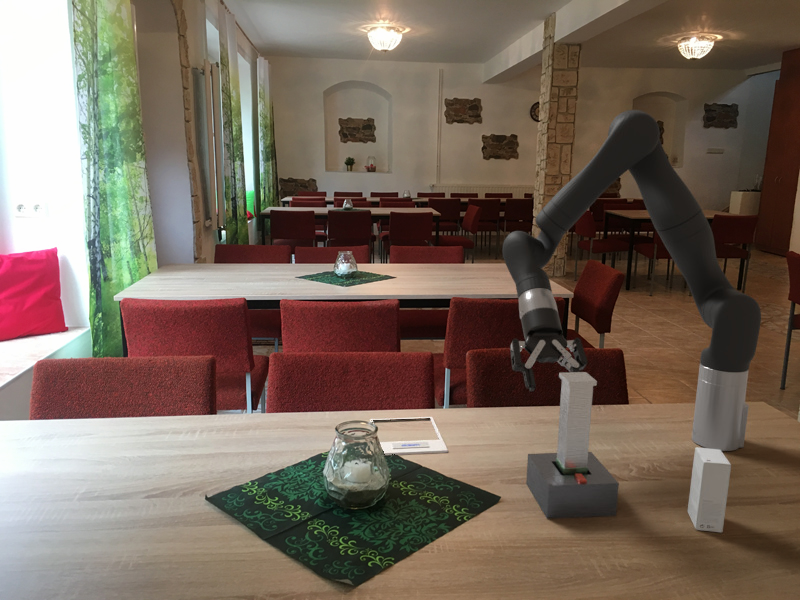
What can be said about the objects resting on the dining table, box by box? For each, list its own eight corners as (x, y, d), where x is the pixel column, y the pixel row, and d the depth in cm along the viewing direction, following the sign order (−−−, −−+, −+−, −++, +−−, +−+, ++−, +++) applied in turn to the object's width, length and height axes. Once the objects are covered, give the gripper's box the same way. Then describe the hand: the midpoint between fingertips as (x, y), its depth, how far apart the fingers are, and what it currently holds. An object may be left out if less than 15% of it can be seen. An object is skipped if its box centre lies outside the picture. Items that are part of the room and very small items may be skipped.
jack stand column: (579, 462, 114) (586, 372, 111) (589, 475, 110) (596, 381, 106) (553, 463, 114) (559, 372, 110) (562, 476, 109) (568, 381, 106)
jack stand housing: (588, 481, 119) (591, 449, 118) (615, 515, 108) (619, 480, 106) (526, 483, 118) (528, 451, 117) (546, 518, 107) (549, 482, 105)
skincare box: (723, 533, 103) (732, 465, 100) (695, 530, 104) (703, 462, 101) (713, 514, 109) (721, 448, 106) (686, 511, 109) (693, 446, 107)
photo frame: (376, 452, 129) (369, 418, 147) (376, 457, 129) (369, 422, 147) (447, 449, 131) (432, 415, 148) (447, 454, 131) (432, 420, 149)
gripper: (509, 306, 125) (522, 381, 116) (579, 305, 126) (598, 379, 118) (501, 325, 131) (513, 398, 122) (567, 325, 133) (585, 396, 124)
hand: (554, 389), depth 120 cm, fingers open, 8 cm apart
